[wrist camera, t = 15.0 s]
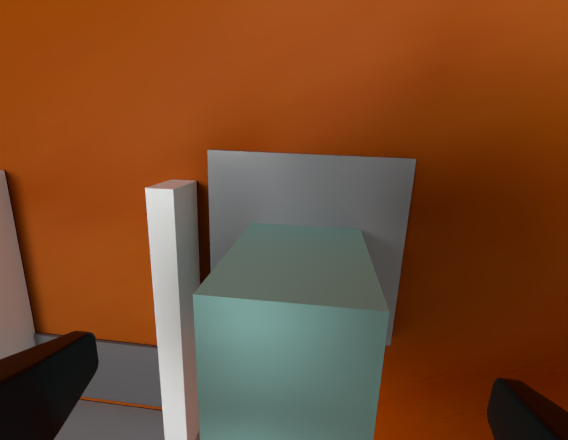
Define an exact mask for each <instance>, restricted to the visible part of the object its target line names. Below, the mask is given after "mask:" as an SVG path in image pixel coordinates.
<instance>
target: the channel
mask: <svg viewBox="0 0 568 440" xmlns="http://www.w3.org/2000/svg"><path fill="white" fill-rule="evenodd" d="M145 193H146V206H147V219H148V231H149V244H150V257H151V270H152V283H153V295H154V308H155V321H156V334H157V346H152V345H143V344H134V343H125V342H116V341H107V340H99V339H96V344H97V352H98V359H99V364H98V369H97V371H96V373H95V375H94V377H93V378H92V380H91V381H90V383H89V385H88V386H87V388H86V390H85V391H84V393H83V394H82V396H83V397H91V398H98V399H106V400H113V401H121V402H128V403H136V404H143V405H151V406H159V407H162V411H160V410H152V409H145V408H138V407H130V406H123V405H115V404H108V403H100V402H93V401H86V400H79V401H78V402H77V404H76V406H75V407H74V409H73V410H72V412H71V414H70V415H69V417H68V419H67V420H66V422H65V423H64V425H63V427H62V428H61V430H60V431H59V433H58V434H57V436H56V437H55V439H54V440H200V430H199V410H198V390H197V370H196V350H195V330H194V309H193V294H194V292H195V291H196V290H197V289H198V287H199V286H200V266H199V239H198V211H197V183H196V181H194V180H176V179H172V180H169V181H165V182H162V183H159V184H156V185H153V186H150V187H146V188H145ZM60 336H63V335H54V334H45V333H35V329H34V324H33V318H32V313H31V308H30V303H29V297H28V292H27V287H26V281H25V276H24V271H23V266H22V260H21V255H20V250H19V245H18V239H17V234H16V229H15V224H14V218H13V213H12V208H11V202H10V197H9V192H8V187H7V181H6V176H5V171H4V170H0V359H3V358H5V357H8V356H10V355H13V354H16V353H18V352H21V351H24V350H26V349H29V348H31V347H34V346H37V345H39V344H42V343H45V342H47V341H50V340H52V339H55V338H58V337H60Z"/></svg>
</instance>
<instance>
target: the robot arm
mask: <svg viewBox="0 0 568 440" xmlns="http://www.w3.org/2000/svg"><path fill="white" fill-rule="evenodd" d="M98 364H99V359H98V352H97V344H96V338H95V335H94V334H93V333H91V332H84V331H74V332H71V333H68V334H65V335H63V336H60V337H58V338H55V339H52V340H50V341H47V342H45V343H42V344H39V345H37V346H34V347H31V348H29V349H26V350H24V351H21V352H18V353H16V354H13V355H10V356H8V357H5V358H3V359H0V440H54V439H55V437H56V436H57V434H58V433H59V431H60V430H61V428H62V427H63V425H64V423H65V422H66V420H67V419H68V417H69V415H70V414H71V412H72V410H73V409H74V407H75V406H76V404H77V402H78V401H79V399H80V398H81V396H82V394H83V393H84V391H85V390H86V388H87V386H88V385H89V383H90V381H91V380H92V378H93V377H94V375H95V373H96V371H97V369H98ZM487 417H488V422H489V425H490V428H491V431H492V433H493V436H494V439H495V440H568V412H567V411H565V410H564V409H562V408H561V407H559V406H558V405H556V404H555V403H553V402H552V401H550V400H549V399H547V398H546V397H544V396H543V395H541V394H540V393H538V392H537V391H535V390H534V389H532V388H530V387H529V386H527V385H526V384H524V383H523V382H521V381H519V380H516V379H507V378H498V379H496V380H495V381H494V384H493V388H492V392H491V396H490V400H489V404H488V408H487Z"/></svg>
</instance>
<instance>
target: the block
mask: <svg viewBox="0 0 568 440" xmlns="http://www.w3.org/2000/svg"><path fill="white" fill-rule="evenodd" d="M193 309H194V330H195V350H196V370H197V390H198V410H199V430H200V440H373V438H374V430H375V422H376V414H377V406H378V398H379V391H380V383H381V375H382V367H383V359H384V351H385V343H386V335H387V328H388V320H389V309H388V306H387V303H386V300H385V297H384V295H383V292H382V289H381V286H380V283H379V281H378V278H377V275H376V272H375V269H374V266H373V264H372V261H371V258H370V255H369V252H368V250H367V247H366V244H365V241H364V238H363V235H362V233H361V230H359V229H343V228H326V227H310V226H294V225H277V224H261V223H251V224H250V225H249V226H248V227H247V228H246V230H245V231H244V232H243V233H242V235H241V236H240V237H239V238H238V240H237V241H236V242H235V243H234V244H233V246H232V247H231V248H230V249H229V251H228V252H227V253H226V254H225V255H224V257H223V258H222V259H221V260H220V262H219V263H218V264H217V265H216V267H215V268H214V269H213V270H212V271H211V273H210V274H209V275H208V276H207V278H206V279H205V280H204V281H203V282H202V284H201V285H200V286H199V287H198V289H197V290H196V291H195V292H194V294H193Z"/></svg>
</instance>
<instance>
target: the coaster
mask: <svg viewBox="0 0 568 440" xmlns="http://www.w3.org/2000/svg"><path fill="white" fill-rule="evenodd" d="M207 154H208V192H209V229H210V267H211V271H212V270H213V269H214V268H215V267H216V265H217V264H218V263H219V262H220V260H221V259H222V258H223V257H224V255H225V254H226V253H227V252H228V251H229V249H230V248H231V247H232V246H233V244H234V243H235V242H236V241H237V240H238V238H239V237H240V236H241V235H242V233H243V232H244V231H245V230H246V228H247V227H248V226H249V225H250V224H251V223H261V224H277V225H294V226H310V227H326V228H343V229H359V230H361V233H362V235H363V238H364V241H365V244H366V247H367V250H368V252H369V255H370V258H371V261H372V264H373V266H374V269H375V272H376V275H377V278H378V281H379V283H380V286H381V289H382V292H383V295H384V297H385V300H386V303H387V306H388V309H389V320H388V328H387V335H386V343H385V345H389V346H390V345H391V338H392V331H393V324H394V317H395V309H396V302H397V295H398V288H399V281H400V274H401V266H402V259H403V252H404V245H405V238H406V231H407V223H408V216H409V209H410V202H411V195H412V187H413V180H414V173H415V166H416V159H414V158H401V157H378V156H355V155H332V154H309V153H286V152H263V151H240V150H216V149H211V150H207Z"/></svg>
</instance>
